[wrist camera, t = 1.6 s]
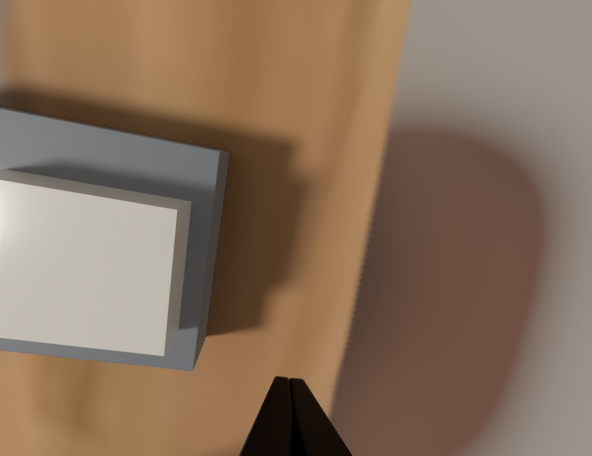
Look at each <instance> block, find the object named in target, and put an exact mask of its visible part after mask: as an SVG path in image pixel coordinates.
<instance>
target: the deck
mask: <svg viewBox="0 0 592 456" xmlns="http://www.w3.org/2000/svg"><path fill="white" fill-rule="evenodd" d="M229 156H230V151H225V150H220V149H215V148H210V147H204V146H199V145H194V144H189V143H184V142H179V141H174V140H169V139H164V138H159V137H153V136H148V135H143V134H138V133H133V132H128V131H123V130H118V129H113V128H108V127H102V126H97V125H92V124H87V123H82V122H77V121H72V120H67V119H62V118H57V117H51V116H46V115H41V114H36V113H31V112H26V111H21V110H16V109H11V108H5V107H0V169H8V170H14V171H19V172H25V173H31V174H37V175H42V176H48V177H54V178H60V179H65V180H71V181H77V182H83V183H88V184H94V185H100V186H106V187H111V188H117V189H123V190H129V191H134V192H140V193H146V194H152V195H157V196H163V197H169V198H175V199H181V200H186V201H192V202H191V212H190V222H189V232H188V241H187V251H186V261H185V270H184V280H183V290H182V300H181V309H180V319H179V329H178V332H177V333H176V335H175V337H174V339H173V341H172V343H171V344H170V346H169V348H168V350H167V352H166V353H165V355H164V356H157V355H149V354H140V353H131V352H122V351H113V350H104V349H95V348H86V347H77V346H68V345H60V344H51V343H42V342H33V341H24V340H15V339H6V338H0V350H2V351H11V352H20V353H30V354H39V355H48V356H57V357H67V358H76V359H85V360H94V361H104V362H113V363H122V364H132V365H141V366H150V367H159V368H169V369H178V370H187V371H193V369H194V367H195V364H196V362H197V359H198V356H199V354H200V351H201V348H202V346H203V343H204V341H205V338H206V332H207V324H208V317H209V309H210V301H211V294H212V286H213V278H214V271H215V263H216V255H217V248H218V240H219V233H220V225H221V217H222V210H223V202H224V194H225V187H226V179H227V172H228V164H229Z"/></svg>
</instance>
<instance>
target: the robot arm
mask: <svg viewBox="0 0 592 456" xmlns="http://www.w3.org/2000/svg"><path fill="white" fill-rule="evenodd" d="M239 456H352V454H351V453H350V451H349V450H348V448H347V447H346V445H345V443H344V442H343V441H342V439H341V437H340V436H339V435H338V433H337V431H336V429H335V428H334V426H333V425H332V423H331V422H330V420H329V419H328V417H327V416H326V414H325V412H324V411H323V409H322V408H321V406H320V405H319V403H318V402H317V400H316V398H315V397H314V395H313V394H312V392H311V391H310V389H309V388H308V386H307V384H306V383H305V381H304V380H303V379H299V378H290V379H288V378H287V377H280V376H276V377H275V378H274V380H273V382H272V384H271V387H270V389H269V391H268V393H267V395H266V398H265V400H264V402H263V404H262V406H261V408H260V411H259V413H258V415H257V417H256V419H255V422H254V424H253V426H252V428H251V430H250V433H249V435H248V437H247V439H246V441H245V444H244V446H243V448H242V450H241V452H240V454H239Z"/></svg>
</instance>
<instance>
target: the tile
mask: <svg viewBox="0 0 592 456" xmlns="http://www.w3.org/2000/svg"><path fill="white" fill-rule="evenodd" d="M191 202H192V201H186V200H181V199H175V198H169V197H163V196H157V195H152V194H146V193H140V192H134V191H129V190H123V189H117V188H111V187H106V186H100V185H94V184H88V183H83V182H77V181H71V180H65V179H60V178H54V177H48V176H42V175H37V174H31V173H25V172H19V171H14V170H8V169H0V338H6V339H15V340H24V341H33V342H42V343H51V344H60V345H68V346H77V347H86V348H95V349H104V350H113V351H122V352H131V353H140V354H149V355H157V356H164V355H165V353H166V352H167V350H168V348H169V346H170V344H171V343H172V341H173V339H174V337H175V335H176V333H177V332H178V329H179V319H180V309H181V300H182V290H183V280H184V270H185V261H186V251H187V241H188V232H189V222H190V212H191Z"/></svg>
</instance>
